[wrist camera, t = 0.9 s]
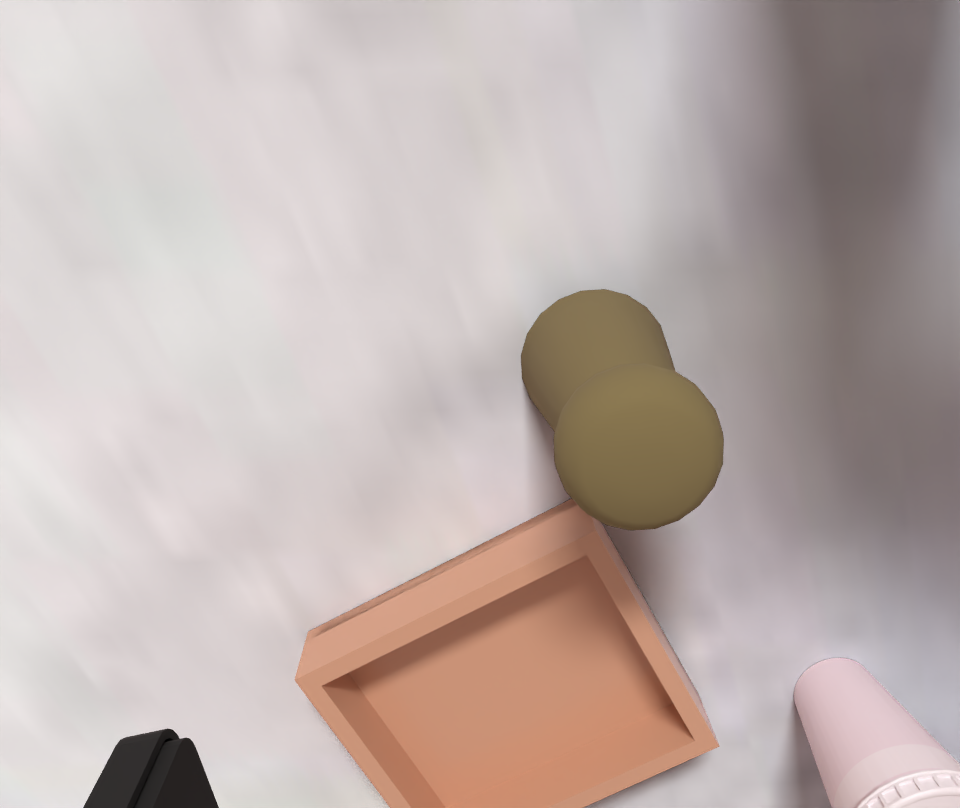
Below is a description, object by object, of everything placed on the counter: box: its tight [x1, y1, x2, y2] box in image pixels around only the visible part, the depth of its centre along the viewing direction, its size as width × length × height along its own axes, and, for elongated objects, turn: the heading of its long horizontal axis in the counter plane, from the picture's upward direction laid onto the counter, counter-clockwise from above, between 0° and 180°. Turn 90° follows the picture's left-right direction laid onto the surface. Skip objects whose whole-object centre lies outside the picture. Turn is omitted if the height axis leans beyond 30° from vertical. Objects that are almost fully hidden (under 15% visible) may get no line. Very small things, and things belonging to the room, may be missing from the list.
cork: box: [521, 289, 724, 530], centre depth 31 cm, size 6×6×11 cm
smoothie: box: [794, 658, 960, 808], centre depth 35 cm, size 6×6×14 cm
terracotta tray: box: [295, 499, 719, 808], centre depth 39 cm, size 14×12×4 cm
